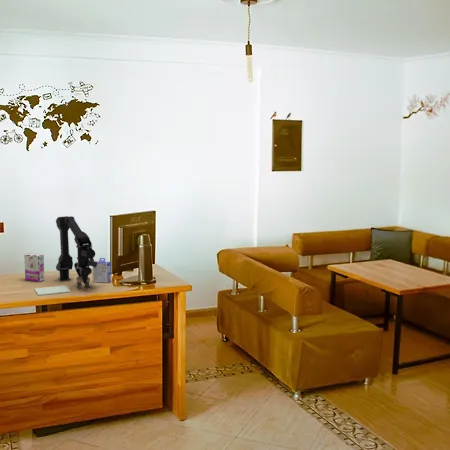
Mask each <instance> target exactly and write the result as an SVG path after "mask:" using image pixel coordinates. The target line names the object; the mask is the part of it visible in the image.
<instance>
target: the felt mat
mask: <svg viewBox="0 0 450 450" xmlns="http://www.w3.org/2000/svg"><path fill="white" fill-rule="evenodd" d="M33 290H34V292H35V293H36V295H37V296H39V295H40V296H47V295H58V294H67V293H71V292H72V291H71V290H70V289H69V287H67V285H56V286H49V287H48V286H46V287H36V288H34V289H33ZM40 296H39V297H40Z"/></svg>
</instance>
